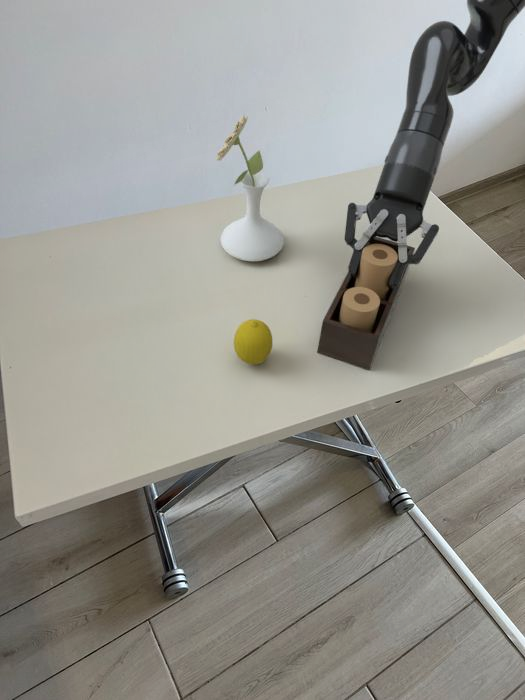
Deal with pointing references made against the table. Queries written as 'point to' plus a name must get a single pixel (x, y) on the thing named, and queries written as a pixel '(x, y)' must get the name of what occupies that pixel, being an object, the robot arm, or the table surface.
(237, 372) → the table surface
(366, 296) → the roll
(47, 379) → the table surface
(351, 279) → the rack
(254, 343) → the lemon
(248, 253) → the flower in vase
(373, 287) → the towel roll
